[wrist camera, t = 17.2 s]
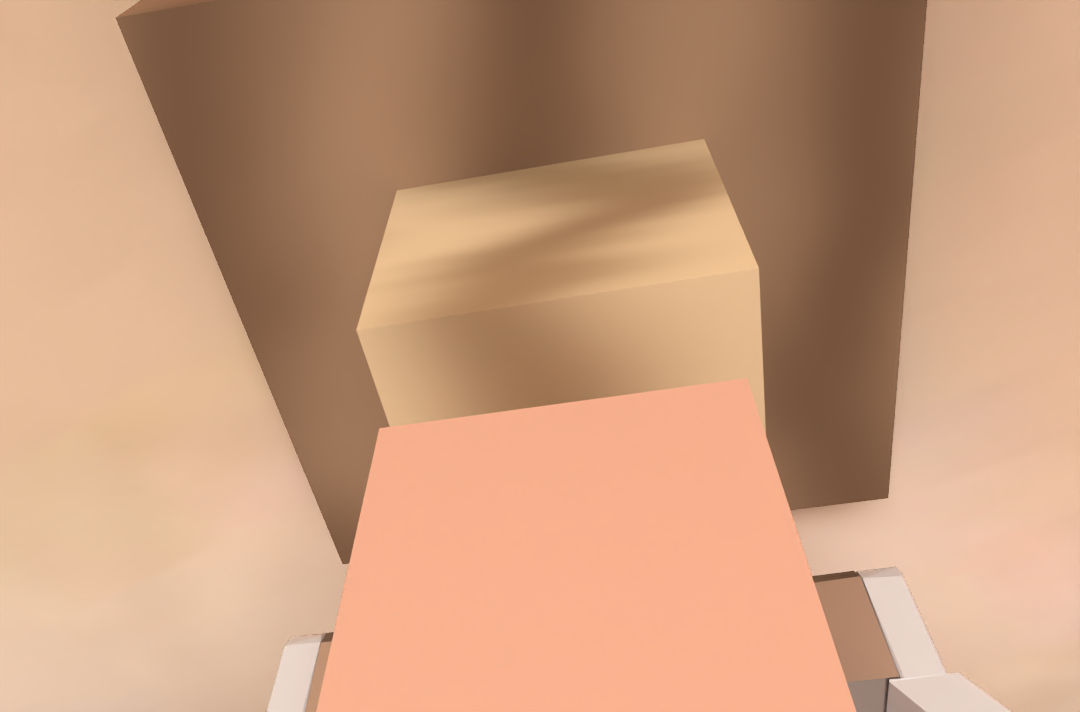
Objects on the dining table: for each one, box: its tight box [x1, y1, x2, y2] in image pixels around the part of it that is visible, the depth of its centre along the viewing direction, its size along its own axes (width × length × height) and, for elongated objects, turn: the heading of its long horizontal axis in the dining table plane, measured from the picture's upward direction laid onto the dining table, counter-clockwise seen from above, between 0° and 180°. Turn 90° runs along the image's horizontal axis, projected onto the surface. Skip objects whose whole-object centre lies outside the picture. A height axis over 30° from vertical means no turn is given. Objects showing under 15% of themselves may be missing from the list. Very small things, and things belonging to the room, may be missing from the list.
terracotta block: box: [316, 378, 856, 712], centre depth 11 cm, size 5×5×5 cm
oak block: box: [356, 139, 766, 434], centre depth 17 cm, size 6×6×5 cm
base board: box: [116, 0, 927, 564], centre depth 20 cm, size 14×14×2 cm
